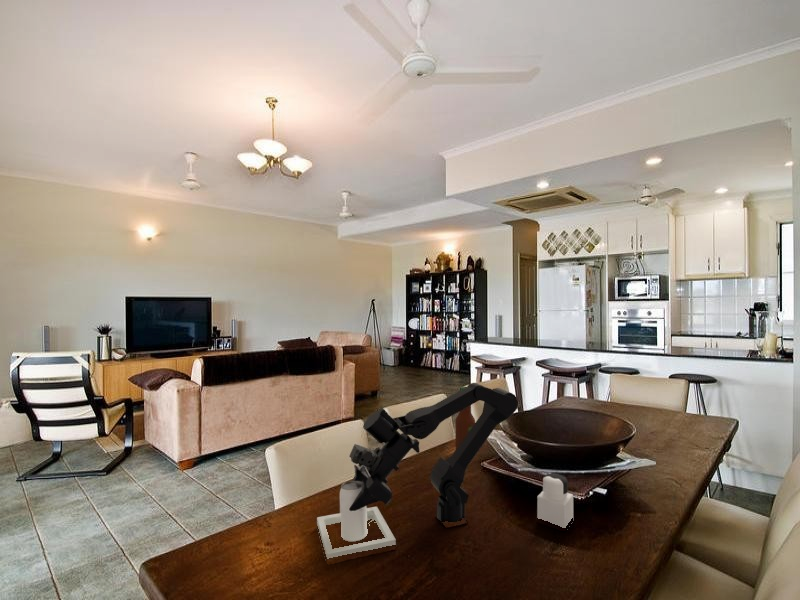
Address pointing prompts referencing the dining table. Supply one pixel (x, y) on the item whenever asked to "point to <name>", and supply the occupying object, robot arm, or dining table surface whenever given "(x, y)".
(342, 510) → the can
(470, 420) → the bottle
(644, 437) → the dining table surface
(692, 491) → the dining table surface
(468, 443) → the robot arm
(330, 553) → the tray
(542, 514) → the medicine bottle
